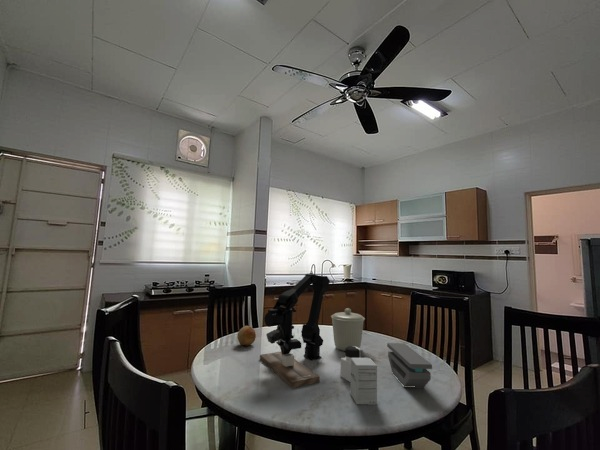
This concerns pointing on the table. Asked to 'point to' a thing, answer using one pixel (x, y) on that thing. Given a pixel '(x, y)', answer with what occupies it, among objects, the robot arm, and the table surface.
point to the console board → (290, 370)
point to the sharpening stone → (408, 365)
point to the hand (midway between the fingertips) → (284, 360)
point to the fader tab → (288, 360)
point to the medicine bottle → (348, 361)
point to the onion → (246, 335)
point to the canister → (347, 329)
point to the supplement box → (363, 381)
